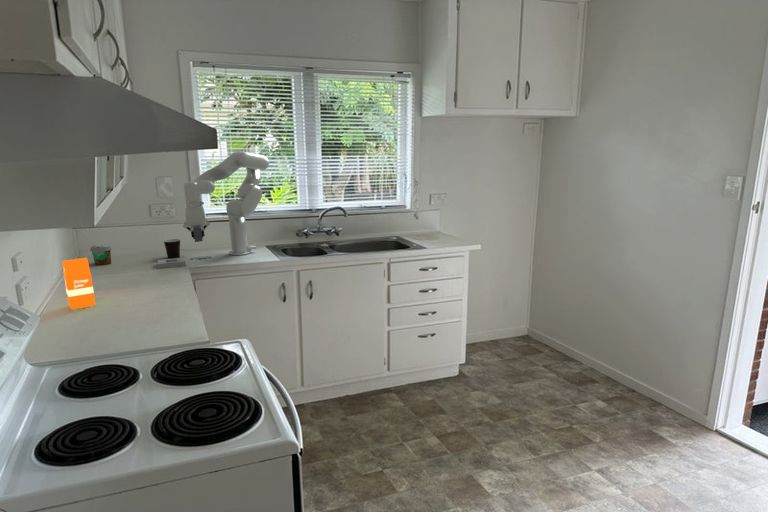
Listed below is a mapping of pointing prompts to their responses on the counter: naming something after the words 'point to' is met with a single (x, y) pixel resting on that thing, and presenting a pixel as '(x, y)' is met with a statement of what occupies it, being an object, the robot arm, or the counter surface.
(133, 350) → the counter surface
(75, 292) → the orange juice
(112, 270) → the counter surface
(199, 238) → the charger
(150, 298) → the counter surface
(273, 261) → the counter surface
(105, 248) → the food container
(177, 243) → the coffee mug
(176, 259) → the outlet plate
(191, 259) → the phone
